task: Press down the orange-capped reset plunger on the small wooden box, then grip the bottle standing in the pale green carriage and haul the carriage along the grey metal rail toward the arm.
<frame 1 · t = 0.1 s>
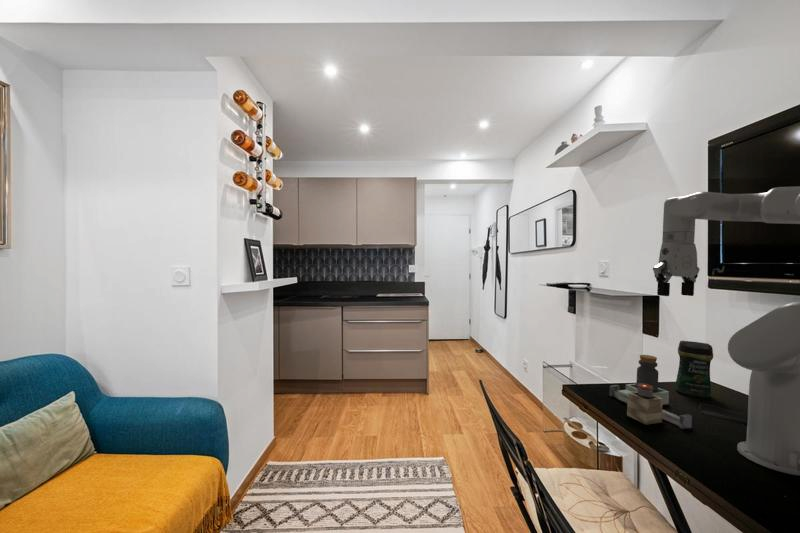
hand: (675, 295, 104), 37 cm above the table, tool pointing down, fingers open, 9 cm apart
coffee jar: (692, 394, 123), on the table
rail: (646, 410, 108), on the table
wooden box: (643, 418, 102), on the table
carriage: (641, 394, 115), point 2 cm above the table, slide at 0.0 cm
bottle: (646, 401, 115), resting in carriage
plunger: (645, 393, 102), point 8 cm above the table, slide at 0.0 cm
phone: (731, 418, 105), on the table
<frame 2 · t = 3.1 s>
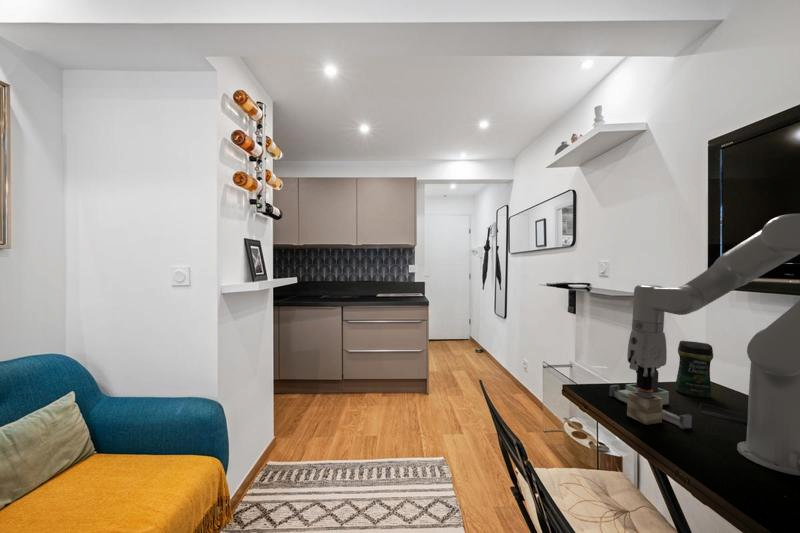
hand: (644, 388, 102), 9 cm above the table, tool pointing down, fingers closed
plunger: (644, 397, 102), point 7 cm above the table, slide at 1.0 cm, touching gripper
everything else where it was.
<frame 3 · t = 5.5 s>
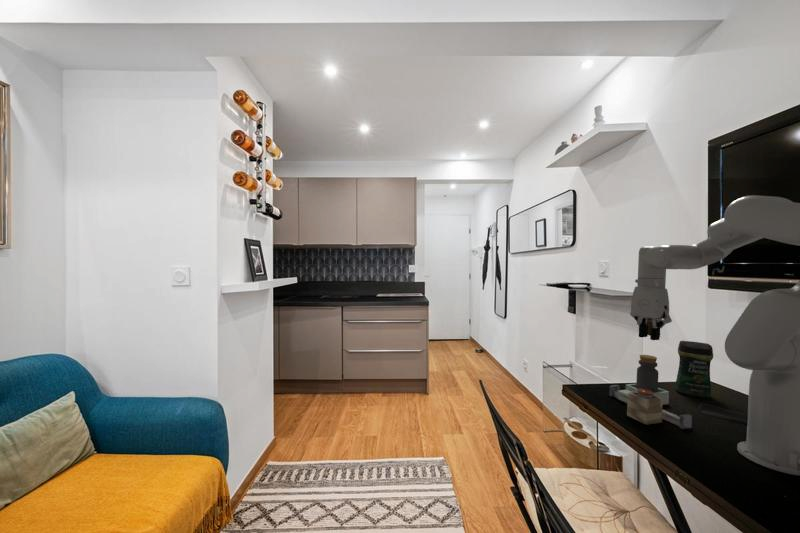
hand: (648, 337, 115), 21 cm above the table, tool pointing down, fingers open, 3 cm apart
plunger: (644, 399, 102), point 6 cm above the table, slide at 1.6 cm
everything else where it was.
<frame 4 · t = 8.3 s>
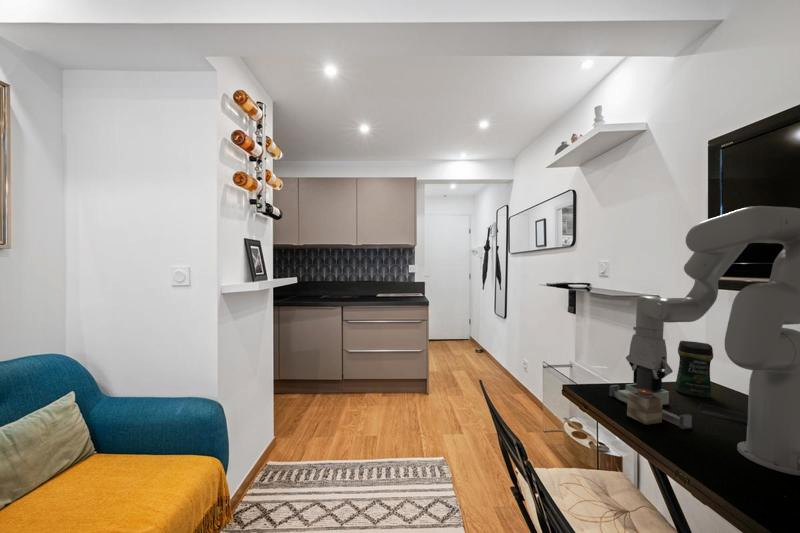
hand: (646, 385, 115), 5 cm above the table, tool pointing down, fingers closed on bottle, 5 cm apart
bottle: (646, 401, 115), resting in carriage, touching gripper
everything else where it was.
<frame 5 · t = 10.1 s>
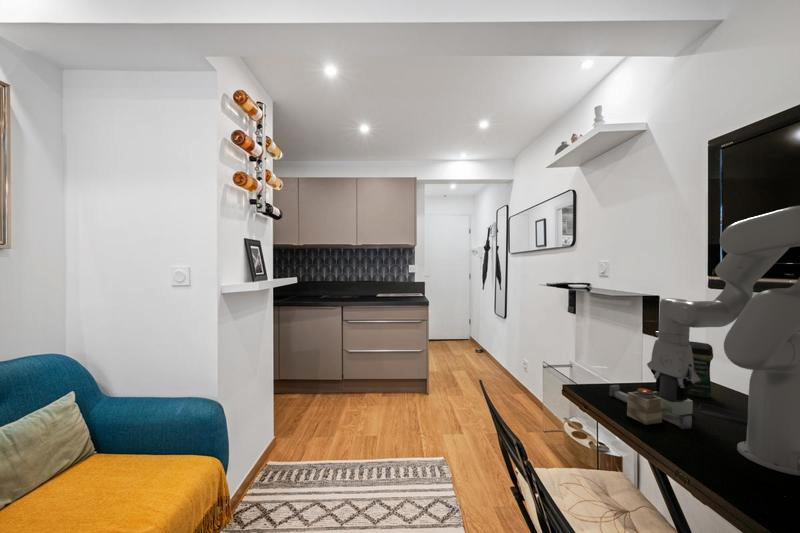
hand: (670, 394, 108), 5 cm above the table, tool pointing down, fingers closed on bottle, 5 cm apart
carriage: (662, 403, 108), point 2 cm above the table, slide at 7.1 cm, touching bottle
bottle: (670, 411, 108), resting in carriage, touching gripper
everything else where it was.
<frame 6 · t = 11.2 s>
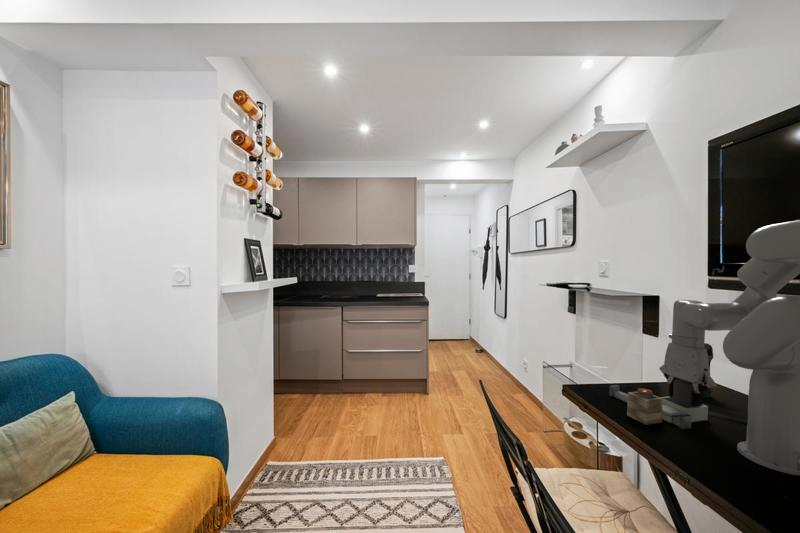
hand: (685, 400, 104), 5 cm above the table, tool pointing down, fingers closed on bottle, 5 cm apart
carriage: (676, 409, 104), point 2 cm above the table, slide at 11.2 cm, touching bottle
bottle: (684, 417, 104), resting in carriage, touching gripper
everything else where it was.
when the fingers open (5 cm above the table, at t = 11.4 s): bottle stays where it is, resting in carriage.
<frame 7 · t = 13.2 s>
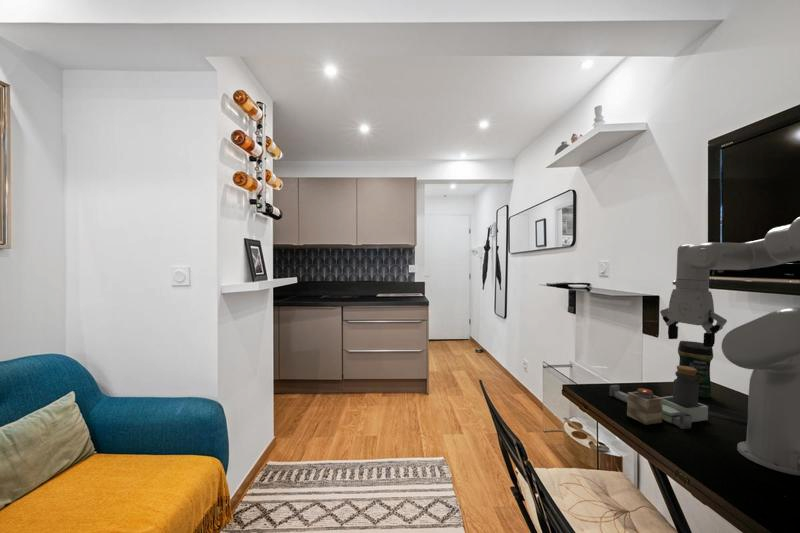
hand: (689, 342, 103), 23 cm above the table, tool pointing down, fingers open, 9 cm apart
carriage: (676, 409, 104), point 2 cm above the table, slide at 11.3 cm
bottle: (684, 417, 104), resting in carriage
everything else where it was.
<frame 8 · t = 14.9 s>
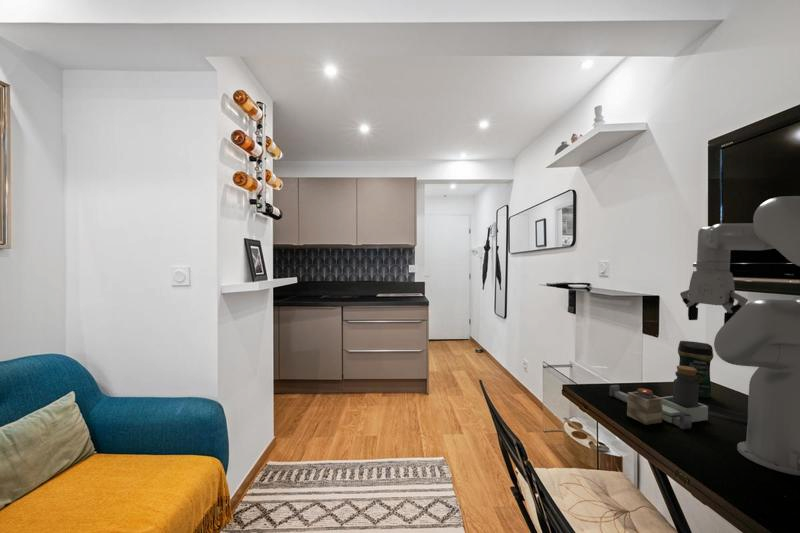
hand: (710, 322, 106), 28 cm above the table, tool pointing down, fingers open, 9 cm apart
nothing on the table moved.
at the end: carriage slide at 11.3 cm; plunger slide at 1.6 cm; bottle tilted 0° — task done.
